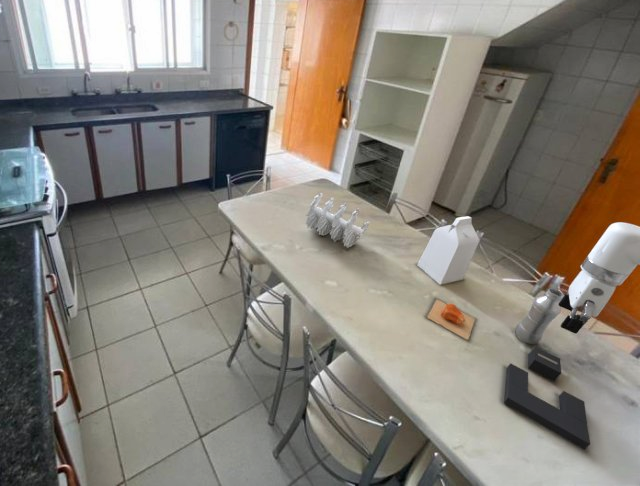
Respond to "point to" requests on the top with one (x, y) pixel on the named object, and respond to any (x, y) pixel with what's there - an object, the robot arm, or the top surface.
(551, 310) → the plastic bottle
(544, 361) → the dark grey square block
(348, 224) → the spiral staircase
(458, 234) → the milk
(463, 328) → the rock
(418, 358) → the top surface
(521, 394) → the dark grey u-shaped block
